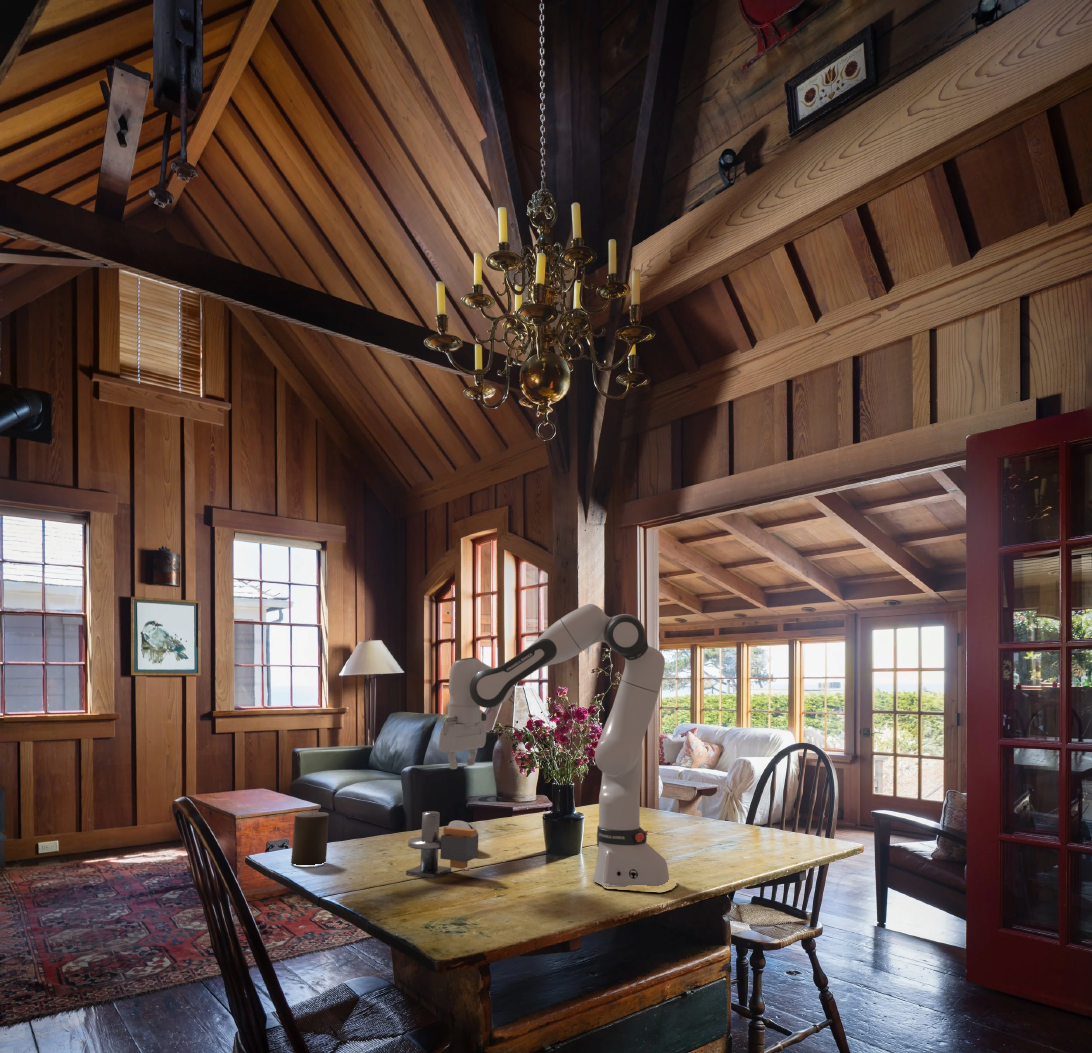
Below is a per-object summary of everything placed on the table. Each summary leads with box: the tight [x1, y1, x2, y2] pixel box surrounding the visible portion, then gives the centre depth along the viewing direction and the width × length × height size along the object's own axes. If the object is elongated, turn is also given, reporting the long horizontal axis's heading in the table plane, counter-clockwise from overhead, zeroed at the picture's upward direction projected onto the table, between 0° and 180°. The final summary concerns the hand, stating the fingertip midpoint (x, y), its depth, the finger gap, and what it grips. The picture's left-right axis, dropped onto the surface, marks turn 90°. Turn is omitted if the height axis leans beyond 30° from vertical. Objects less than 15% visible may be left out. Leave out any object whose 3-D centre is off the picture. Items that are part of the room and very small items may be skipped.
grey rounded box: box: [447, 819, 479, 835], centre depth 260 cm, size 17×5×10 cm, turn 30°
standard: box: [405, 810, 479, 880], centre depth 231 cm, size 20×12×16 cm, turn 65°
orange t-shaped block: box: [442, 825, 478, 870], centre depth 228 cm, size 9×2×10 cm, turn 65°
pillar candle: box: [290, 809, 330, 865], centre depth 241 cm, size 10×10×15 cm
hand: (462, 767), depth 232 cm, fingers open, 8 cm apart
